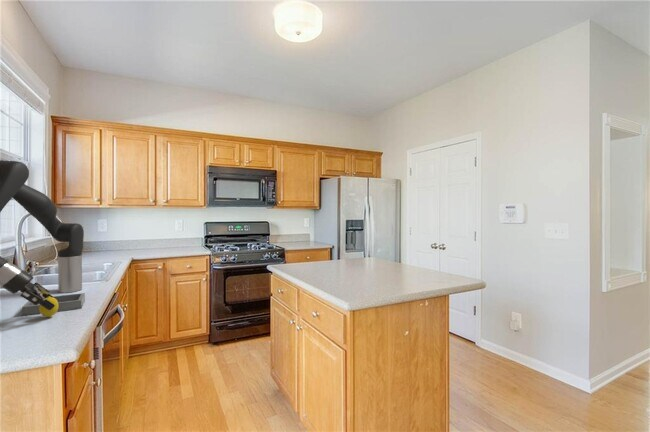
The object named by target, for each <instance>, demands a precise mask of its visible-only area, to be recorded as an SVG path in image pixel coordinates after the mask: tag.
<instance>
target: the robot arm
mask: <svg viewBox="0 0 650 432" xmlns="http://www.w3.org/2000/svg"><path fill="white" fill-rule="evenodd" d="M29 175H30V170H29V167H28V166H27V165H26V164H25V163H24V162H22V161H17V160H0V213H1V212H2V211H3V209H4V208H5V207H6V205H7V204H9V202H10V201H11V200H12V199H13V200H14V201H16V202H17V203H18V204H19V205H20V206H21V207H23V209H25V211H26V212H28V214H30V215H31V216H32V217H33V218H34V219H36V220H37V221H38V222H39V223H40V224H41V225H42V226H43V227H44V228H45V229H46V231H47V232H48V233H49V234H50V236H52V238H53V239H54V240H56V241H57V242H61V243H68V246H67V247H65V248H63V249H60V250H58V252H57V280H58V281H57V282H58V283H57V287H58V289H57V290H58V291H57V292H58V293H66V294H67V293H74V292H79V291H81V290H83V259H82V258H83V256H82V255H83V249H84V238H85V236H84V234H85V232H84V227H83V225H82V224H80V223H76V222H75V223H74V222H72V223H71V222H70V223H69V222H67V223H65V222H63V221H60V220H59V219H58V218H57V212H58V208H57V205H56V204H55V203H54V201H52V199H50V198H49V196H48V195H46V194H45V193H43V192H42V191H40V190H37V189H36V188H33V187H31V186H29V185H28V184H25V183H26V182H27V180H28V179H29ZM33 279H34V276H33V275H31V274H29V273H28V272H27V271H25V270H23V269H21V268H20V267H19V266H18V265H16V264H14V263H12V262H10V261H8V260H7V259H6V258H4V257H2V256H0V287H1V288H3V289H5V290H6V291H8V292H9V293H11V294H13V295H15V294H17V293H18V292H19V291H20V292H21V294H20V297H21V298H23V299H24V300H27V302H28V301H30V302H31V303H33V304H34V305H37V304H38V305H42V306H43V307H45V308H46V309H48V310H51V309H52V308H53V307H54V306H55V305H54V304H53V303H51V302H50V301H48V300H46V299H45V298H47V297H48V296H50V297H53V296H54V295H51V293H50V290H48V289H46V288H45V287H44V286H42V285H41V284H39V283H38V282H34V283H32V282H31V281H32V280H33ZM53 298H55V297H53ZM37 299H38V300H37ZM55 299H56V298H55ZM56 300H57V301H58V299H56Z"/></svg>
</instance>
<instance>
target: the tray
mask: <svg viewBox="0 0 650 432" xmlns="http://www.w3.org/2000/svg"><path fill="white" fill-rule="evenodd" d="M52 296H53V297H55V298H56V299H58V305H59V307H58V310H57V312H65V311H74V310H82V308H83V306H84V304H85V301H86V293H85V292H80V293H71V294H64V295H63V294H62V295H52ZM37 300H38V299H37ZM39 306H40V305H38V304H37V305H34V304H33V303H31V302H30V301H28V300H27V302H26V303H25V304H24V305H23V306H22V307H21V316H22V317H27V316H35V315H42V314H41V313H40V311H39ZM57 312H56V313H57Z"/></svg>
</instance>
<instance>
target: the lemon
mask: <svg viewBox="0 0 650 432" xmlns="http://www.w3.org/2000/svg"><path fill="white" fill-rule="evenodd" d="M45 299H46V300H48V301H50V302H51V303H53V304H54V305H55V306H54V307H53V308H52V309H51V310H48V309H46V308H45V307H43V306H42V305H40V306H39V311H40V313H41V314H40V315H42V316H43V317H47V318H51V317H52V316H54V315H55V314H56V313H57V310H58V307H59V305H58V301H57V300H56V299H55V298H53V297H50V296H48V297H47V298H45Z"/></svg>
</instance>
